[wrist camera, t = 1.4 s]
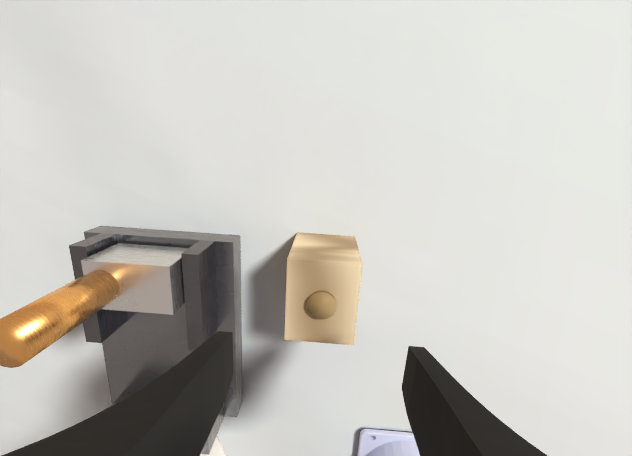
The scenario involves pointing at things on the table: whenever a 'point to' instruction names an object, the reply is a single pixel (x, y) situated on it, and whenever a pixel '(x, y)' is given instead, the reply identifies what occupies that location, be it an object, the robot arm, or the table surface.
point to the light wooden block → (322, 289)
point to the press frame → (163, 329)
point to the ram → (96, 297)
